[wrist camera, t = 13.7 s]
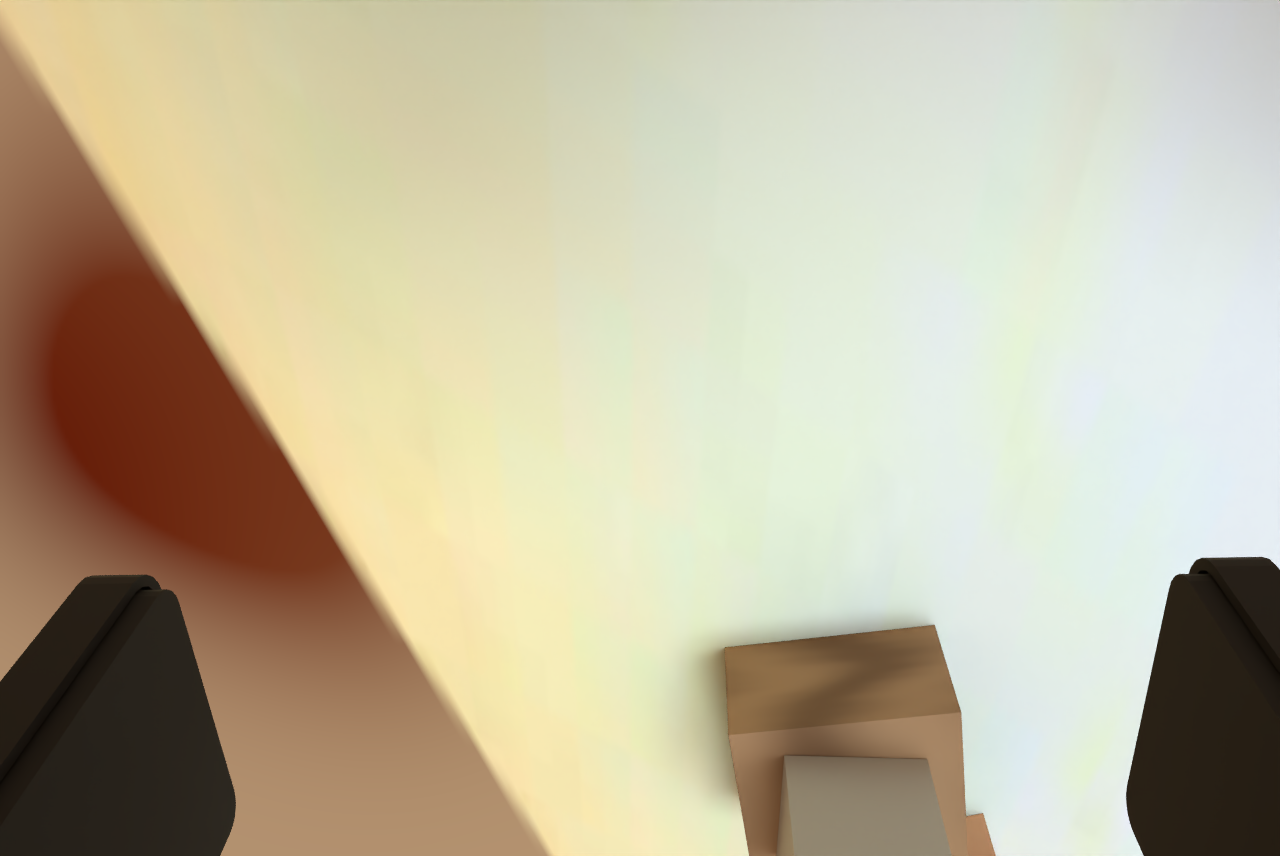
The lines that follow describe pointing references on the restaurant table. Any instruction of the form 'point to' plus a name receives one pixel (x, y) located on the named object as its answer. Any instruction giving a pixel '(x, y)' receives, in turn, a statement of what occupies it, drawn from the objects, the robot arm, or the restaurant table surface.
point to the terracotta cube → (978, 836)
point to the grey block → (859, 808)
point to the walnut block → (842, 717)
